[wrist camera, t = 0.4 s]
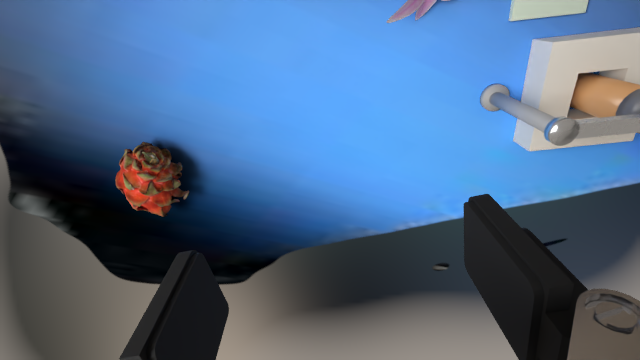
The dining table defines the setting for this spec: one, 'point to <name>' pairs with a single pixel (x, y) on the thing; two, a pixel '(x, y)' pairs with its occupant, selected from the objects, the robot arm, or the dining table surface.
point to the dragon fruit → (150, 179)
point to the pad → (545, 8)
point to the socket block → (565, 82)
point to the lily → (412, 9)
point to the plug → (605, 96)
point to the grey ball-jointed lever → (589, 128)
